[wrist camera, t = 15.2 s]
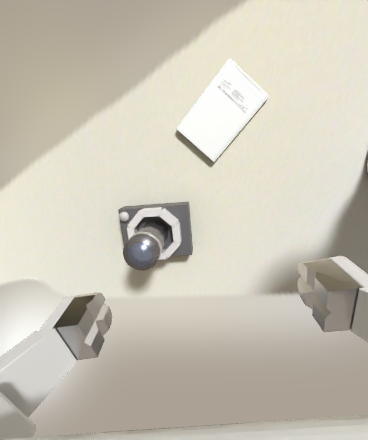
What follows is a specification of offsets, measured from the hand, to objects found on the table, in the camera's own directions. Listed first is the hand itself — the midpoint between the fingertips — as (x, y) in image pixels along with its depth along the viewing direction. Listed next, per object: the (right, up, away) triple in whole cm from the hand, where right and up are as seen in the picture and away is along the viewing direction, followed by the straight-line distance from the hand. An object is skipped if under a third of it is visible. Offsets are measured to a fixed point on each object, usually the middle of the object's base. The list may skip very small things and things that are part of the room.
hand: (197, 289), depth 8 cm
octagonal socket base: (-5, +1, +29) cm, 29 cm away
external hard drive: (+5, +20, +24) cm, 32 cm away
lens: (-6, +1, +26) cm, 27 cm away
